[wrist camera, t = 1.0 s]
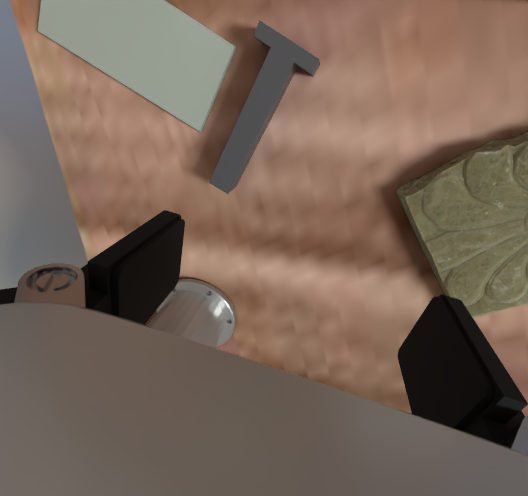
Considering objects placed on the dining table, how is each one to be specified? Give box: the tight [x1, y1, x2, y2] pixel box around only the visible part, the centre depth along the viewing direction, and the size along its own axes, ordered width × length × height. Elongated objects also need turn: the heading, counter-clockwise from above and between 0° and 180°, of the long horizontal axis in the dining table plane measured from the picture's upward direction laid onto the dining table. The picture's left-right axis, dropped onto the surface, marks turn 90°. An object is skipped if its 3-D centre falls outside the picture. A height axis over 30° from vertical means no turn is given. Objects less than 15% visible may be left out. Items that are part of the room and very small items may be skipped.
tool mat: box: [38, 0, 237, 132], centre depth 30 cm, size 9×20×1 cm, turn 61°
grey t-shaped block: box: [209, 21, 320, 194], centre depth 30 cm, size 15×6×4 cm, turn 151°
